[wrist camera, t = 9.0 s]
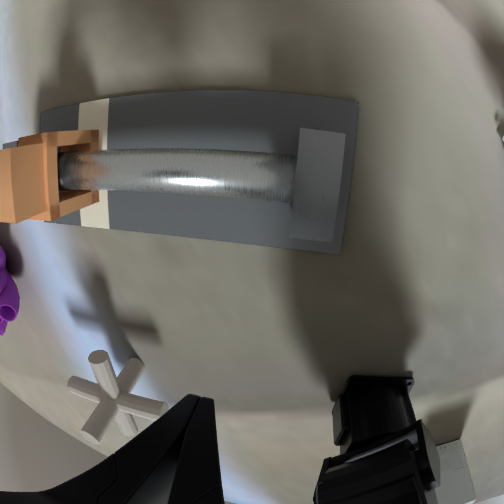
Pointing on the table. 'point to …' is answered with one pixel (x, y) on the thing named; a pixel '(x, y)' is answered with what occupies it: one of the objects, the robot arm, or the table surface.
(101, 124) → the grey base plate
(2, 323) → the purple tube cluster
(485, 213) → the table surface
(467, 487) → the skincare box
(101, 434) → the pipe connector
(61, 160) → the linear slide rail
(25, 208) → the collar
